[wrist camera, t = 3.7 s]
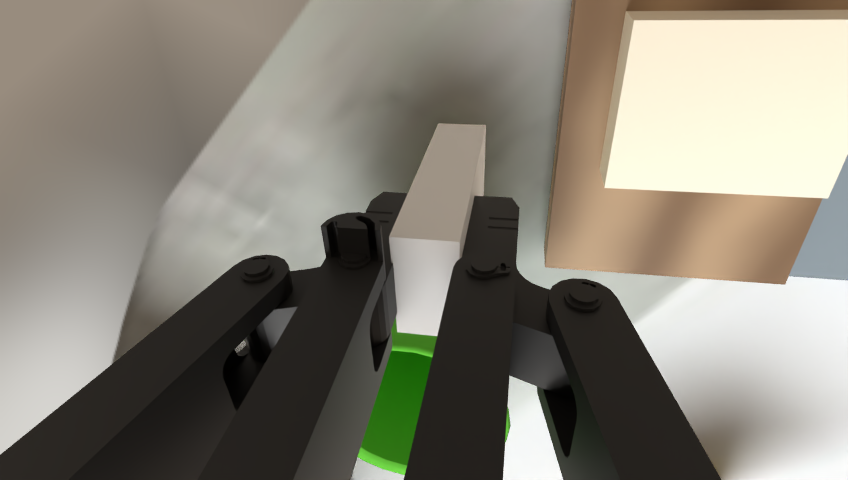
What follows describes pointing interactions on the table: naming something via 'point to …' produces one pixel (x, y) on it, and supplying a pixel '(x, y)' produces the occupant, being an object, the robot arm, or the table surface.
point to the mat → (827, 236)
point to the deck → (651, 209)
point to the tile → (729, 102)
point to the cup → (400, 402)
